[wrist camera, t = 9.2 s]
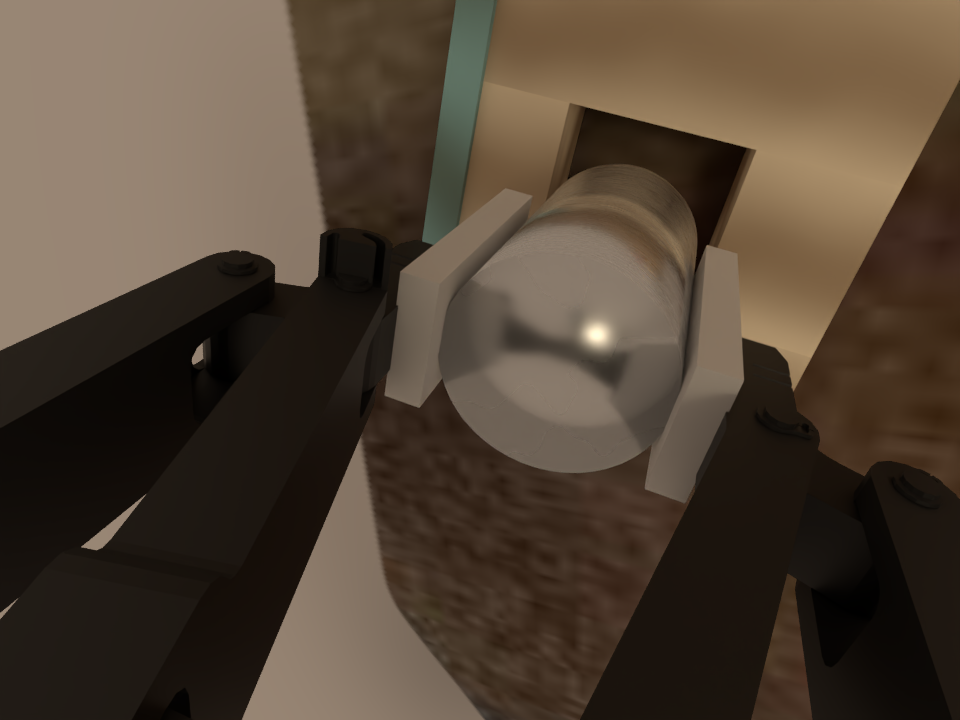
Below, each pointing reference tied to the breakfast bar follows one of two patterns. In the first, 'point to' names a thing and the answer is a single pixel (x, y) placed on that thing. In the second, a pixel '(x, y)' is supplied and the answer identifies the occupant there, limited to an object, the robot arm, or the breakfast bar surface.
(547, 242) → the grey metal cylinder
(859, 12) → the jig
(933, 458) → the breakfast bar surface
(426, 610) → the breakfast bar surface
